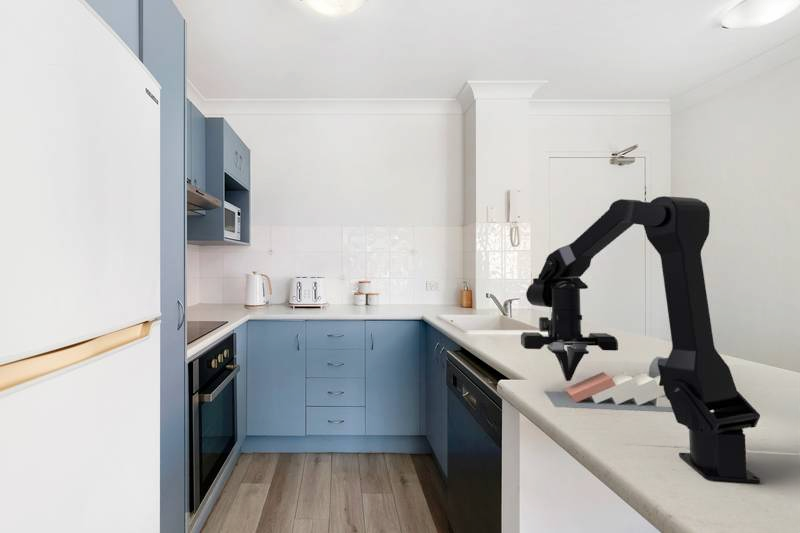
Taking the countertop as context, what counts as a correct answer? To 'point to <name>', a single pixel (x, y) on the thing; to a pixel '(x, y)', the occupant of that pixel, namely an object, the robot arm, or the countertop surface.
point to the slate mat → (601, 403)
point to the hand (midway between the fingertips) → (567, 380)
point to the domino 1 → (590, 387)
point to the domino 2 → (615, 387)
